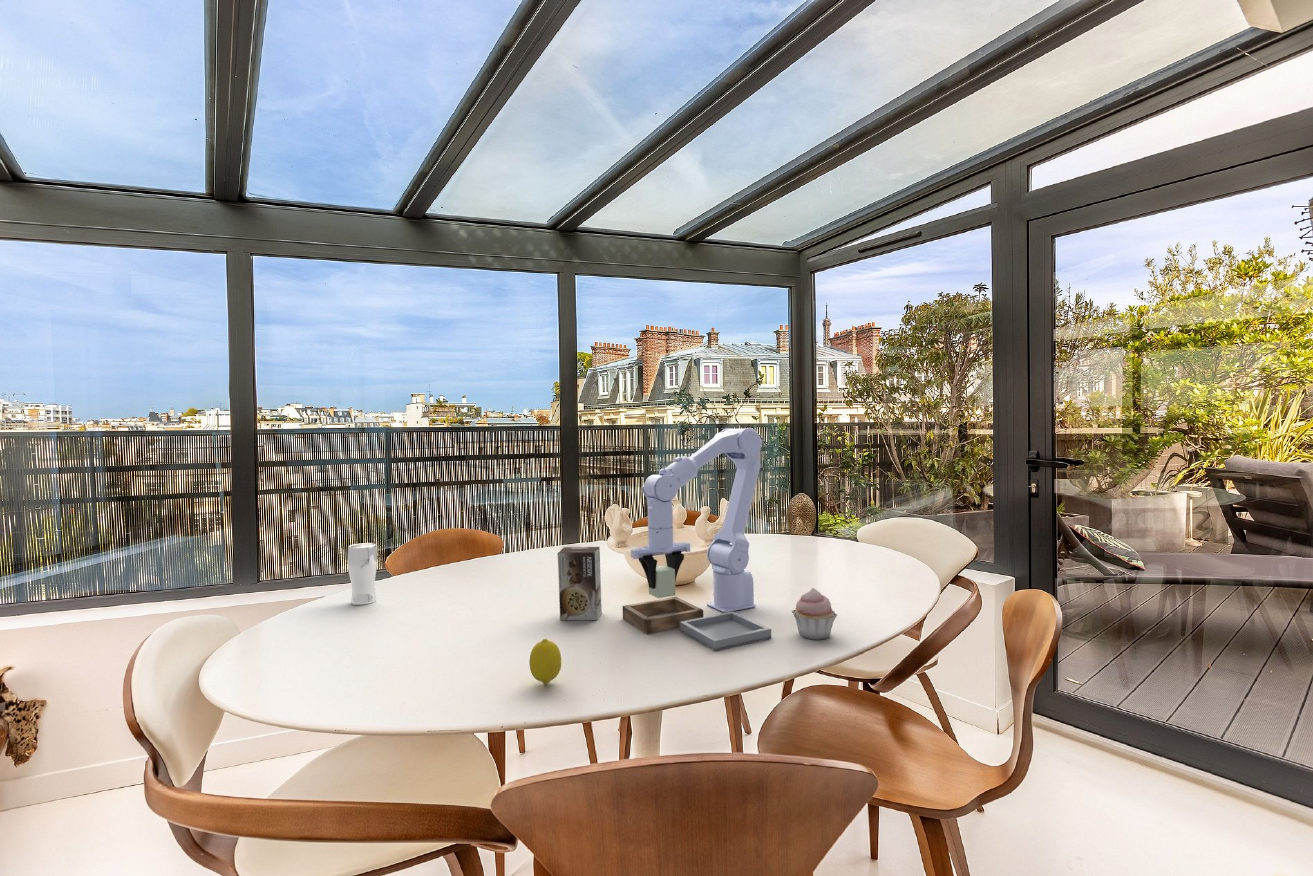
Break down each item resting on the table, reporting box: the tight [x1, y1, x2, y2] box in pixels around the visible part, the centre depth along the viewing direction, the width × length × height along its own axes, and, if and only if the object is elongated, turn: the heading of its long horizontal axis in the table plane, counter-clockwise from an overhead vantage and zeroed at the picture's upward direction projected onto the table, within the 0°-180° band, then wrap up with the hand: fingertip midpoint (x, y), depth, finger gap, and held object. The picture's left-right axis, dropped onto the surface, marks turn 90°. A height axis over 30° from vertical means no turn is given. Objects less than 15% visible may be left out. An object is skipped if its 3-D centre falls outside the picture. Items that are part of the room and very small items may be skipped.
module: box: [648, 564, 676, 599], centre depth 142 cm, size 4×4×6 cm
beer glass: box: [347, 542, 378, 606], centre depth 162 cm, size 7×7×15 cm
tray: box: [679, 611, 772, 652], centre depth 132 cm, size 14×14×2 cm
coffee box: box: [557, 546, 603, 621], centre depth 146 cm, size 9×6×16 cm
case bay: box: [622, 596, 704, 635], centre depth 142 cm, size 14×12×3 cm
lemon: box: [528, 638, 562, 685], centre depth 108 cm, size 6×6×8 cm
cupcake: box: [791, 587, 838, 640], centre depth 130 cm, size 9×9×10 cm
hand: (661, 586), depth 142 cm, fingers closed on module, 4 cm apart
